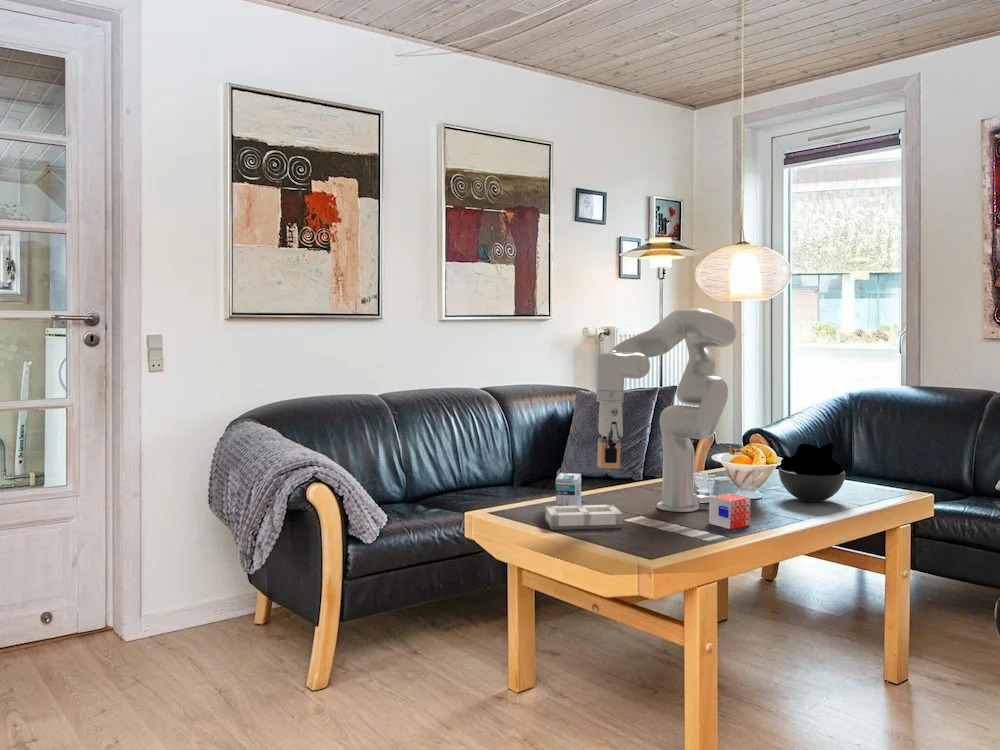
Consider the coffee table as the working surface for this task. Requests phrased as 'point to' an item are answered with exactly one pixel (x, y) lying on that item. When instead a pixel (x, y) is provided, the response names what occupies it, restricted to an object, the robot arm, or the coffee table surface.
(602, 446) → the tan box
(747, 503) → the red and white box
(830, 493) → the bowl of black rocks
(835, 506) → the coffee table surface
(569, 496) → the light bulb box
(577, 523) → the socket plate
